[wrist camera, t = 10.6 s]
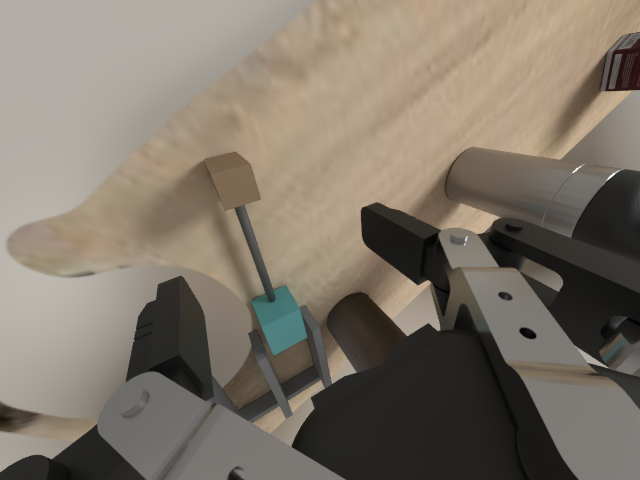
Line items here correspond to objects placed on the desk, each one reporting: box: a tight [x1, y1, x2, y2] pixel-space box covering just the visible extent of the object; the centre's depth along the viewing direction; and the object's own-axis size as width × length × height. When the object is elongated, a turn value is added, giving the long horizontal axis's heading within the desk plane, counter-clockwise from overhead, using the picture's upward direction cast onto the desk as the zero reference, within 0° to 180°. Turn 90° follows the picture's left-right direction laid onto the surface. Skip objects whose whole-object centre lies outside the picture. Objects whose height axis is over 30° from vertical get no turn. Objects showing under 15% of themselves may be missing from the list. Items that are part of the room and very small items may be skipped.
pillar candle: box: [327, 293, 407, 372], centre depth 39 cm, size 10×10×15 cm
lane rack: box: [206, 305, 332, 423], centre depth 38 cm, size 17×18×5 cm
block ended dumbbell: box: [204, 152, 307, 356], centre depth 27 cm, size 5×24×6 cm, turn 9°
